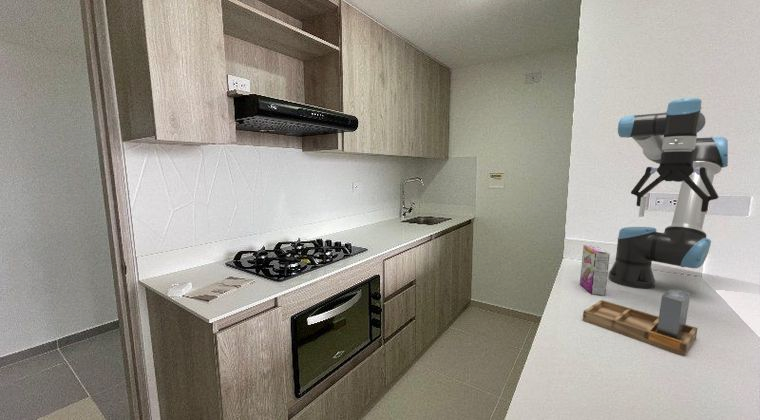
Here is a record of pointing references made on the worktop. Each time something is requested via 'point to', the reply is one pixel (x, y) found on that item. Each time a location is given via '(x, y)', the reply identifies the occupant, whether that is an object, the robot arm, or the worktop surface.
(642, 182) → the robot arm
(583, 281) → the candy bar box
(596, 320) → the bay rack
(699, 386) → the worktop surface
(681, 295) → the panel
